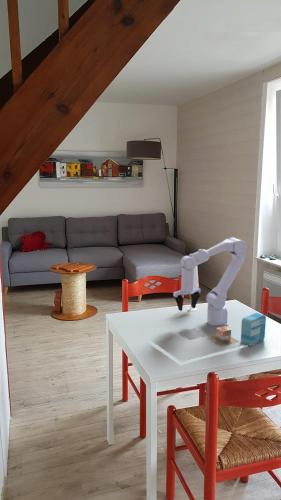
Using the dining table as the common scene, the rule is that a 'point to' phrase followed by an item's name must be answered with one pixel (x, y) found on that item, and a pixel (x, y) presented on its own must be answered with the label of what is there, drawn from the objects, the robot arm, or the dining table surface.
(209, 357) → the dining table surface
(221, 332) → the orange-brown cube
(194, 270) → the champagne flute
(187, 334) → the slate stand
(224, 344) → the walnut stand
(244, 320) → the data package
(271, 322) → the dining table surface
